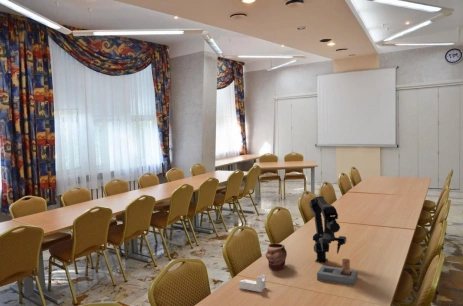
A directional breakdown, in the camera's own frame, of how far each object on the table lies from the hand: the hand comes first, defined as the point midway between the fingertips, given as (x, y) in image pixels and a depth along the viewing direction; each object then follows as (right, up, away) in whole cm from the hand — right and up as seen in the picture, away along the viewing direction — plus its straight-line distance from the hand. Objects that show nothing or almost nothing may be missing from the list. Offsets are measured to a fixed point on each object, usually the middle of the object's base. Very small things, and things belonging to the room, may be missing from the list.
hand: (329, 252), depth 210 cm
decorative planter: (-30, -13, +13) cm, 35 cm away
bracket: (-47, -16, -15) cm, 52 cm away
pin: (+6, -11, -12) cm, 17 cm away
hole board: (+2, -12, -9) cm, 15 cm away
